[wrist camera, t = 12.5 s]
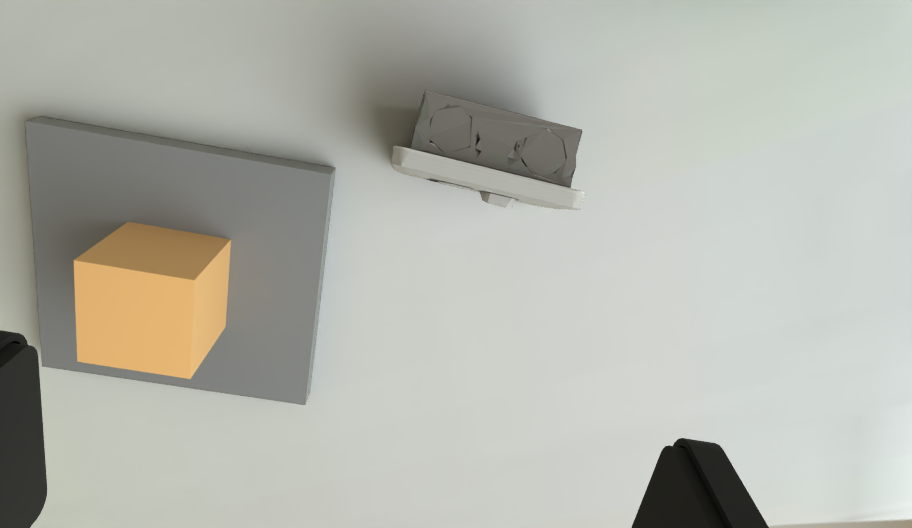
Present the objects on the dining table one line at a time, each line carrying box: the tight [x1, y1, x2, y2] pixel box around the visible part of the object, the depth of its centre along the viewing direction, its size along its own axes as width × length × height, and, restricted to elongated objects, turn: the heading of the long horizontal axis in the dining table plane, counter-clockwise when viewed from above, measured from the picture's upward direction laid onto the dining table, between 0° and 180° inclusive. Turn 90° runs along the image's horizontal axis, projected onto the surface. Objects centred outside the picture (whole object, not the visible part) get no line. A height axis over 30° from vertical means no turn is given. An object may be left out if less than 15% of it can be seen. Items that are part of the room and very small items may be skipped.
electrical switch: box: [391, 90, 585, 210], centre depth 34 cm, size 9×5×9 cm, turn 76°
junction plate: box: [25, 116, 336, 405], centre depth 38 cm, size 16×17×6 cm
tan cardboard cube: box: [74, 222, 231, 379], centre depth 37 cm, size 6×6×6 cm
